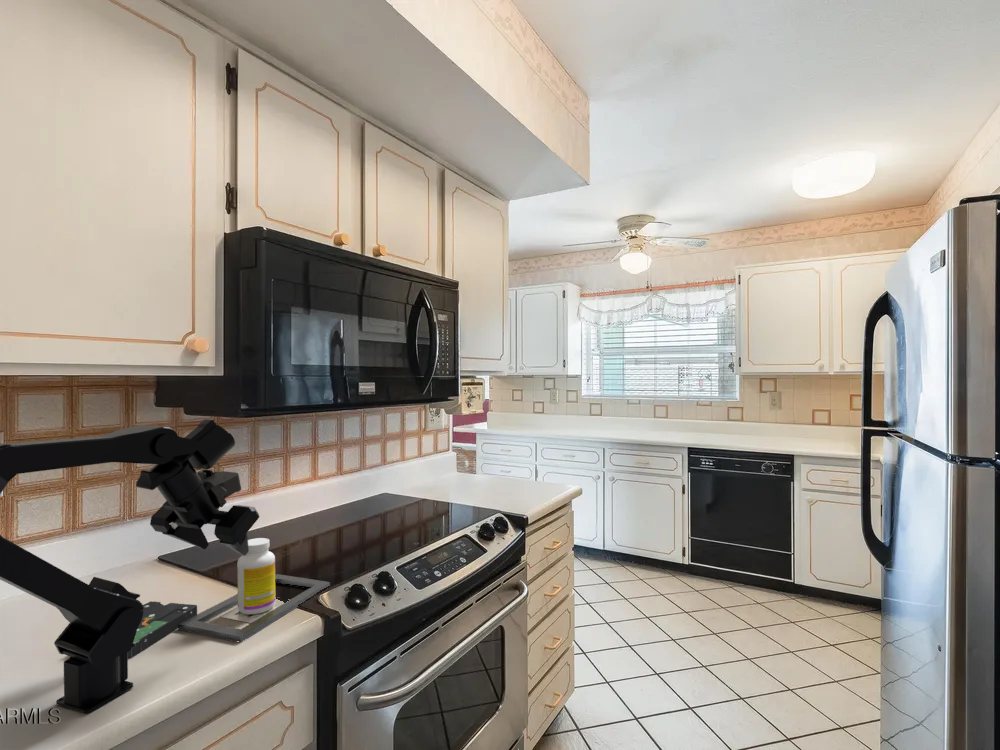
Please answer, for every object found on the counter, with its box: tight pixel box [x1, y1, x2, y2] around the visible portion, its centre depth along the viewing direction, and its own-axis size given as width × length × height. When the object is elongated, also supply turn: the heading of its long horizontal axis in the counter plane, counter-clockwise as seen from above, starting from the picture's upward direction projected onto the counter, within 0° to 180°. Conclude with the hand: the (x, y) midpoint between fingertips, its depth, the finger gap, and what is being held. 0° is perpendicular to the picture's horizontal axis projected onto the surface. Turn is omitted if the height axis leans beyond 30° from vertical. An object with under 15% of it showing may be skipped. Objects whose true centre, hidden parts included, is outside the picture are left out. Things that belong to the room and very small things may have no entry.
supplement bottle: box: [236, 537, 277, 614], centre depth 102 cm, size 7×7×13 cm
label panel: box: [178, 573, 331, 643], centre depth 103 cm, size 24×14×1 cm, turn 161°
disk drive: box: [128, 601, 198, 659], centre depth 92 cm, size 10×3×15 cm
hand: (225, 550), depth 95 cm, fingers open, 9 cm apart
